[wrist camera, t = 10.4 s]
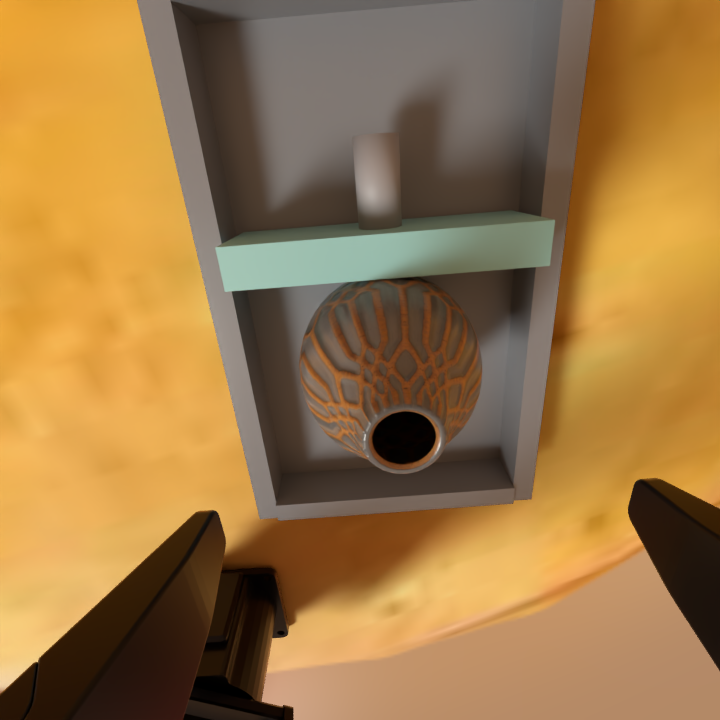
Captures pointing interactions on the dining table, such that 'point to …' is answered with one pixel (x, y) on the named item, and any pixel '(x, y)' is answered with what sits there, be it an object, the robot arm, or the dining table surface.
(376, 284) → the vase
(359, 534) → the dining table surface
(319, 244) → the pusher
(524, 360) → the gray rectangular tray
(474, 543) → the dining table surface
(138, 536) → the dining table surface
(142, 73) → the dining table surface
